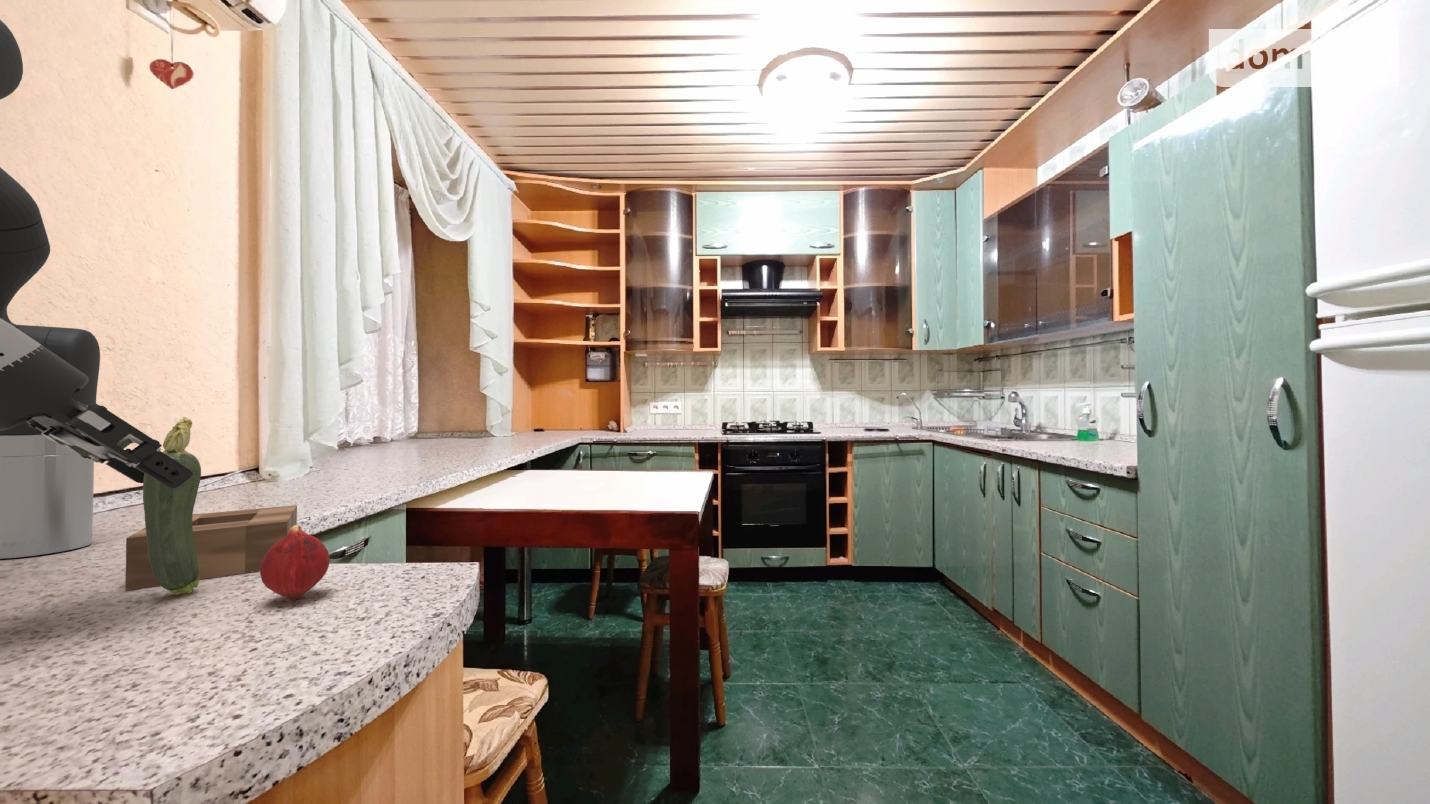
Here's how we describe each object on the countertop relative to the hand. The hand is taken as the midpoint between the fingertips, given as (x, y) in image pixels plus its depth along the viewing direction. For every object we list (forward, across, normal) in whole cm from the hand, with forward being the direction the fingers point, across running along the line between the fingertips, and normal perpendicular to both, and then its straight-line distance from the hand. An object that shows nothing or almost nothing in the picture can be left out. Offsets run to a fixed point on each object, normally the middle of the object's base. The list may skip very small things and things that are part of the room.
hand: (167, 479), depth 54 cm
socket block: (+15, +11, +3) cm, 19 cm away
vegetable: (+10, 0, +9) cm, 13 cm away
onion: (+14, -13, +5) cm, 20 cm away
